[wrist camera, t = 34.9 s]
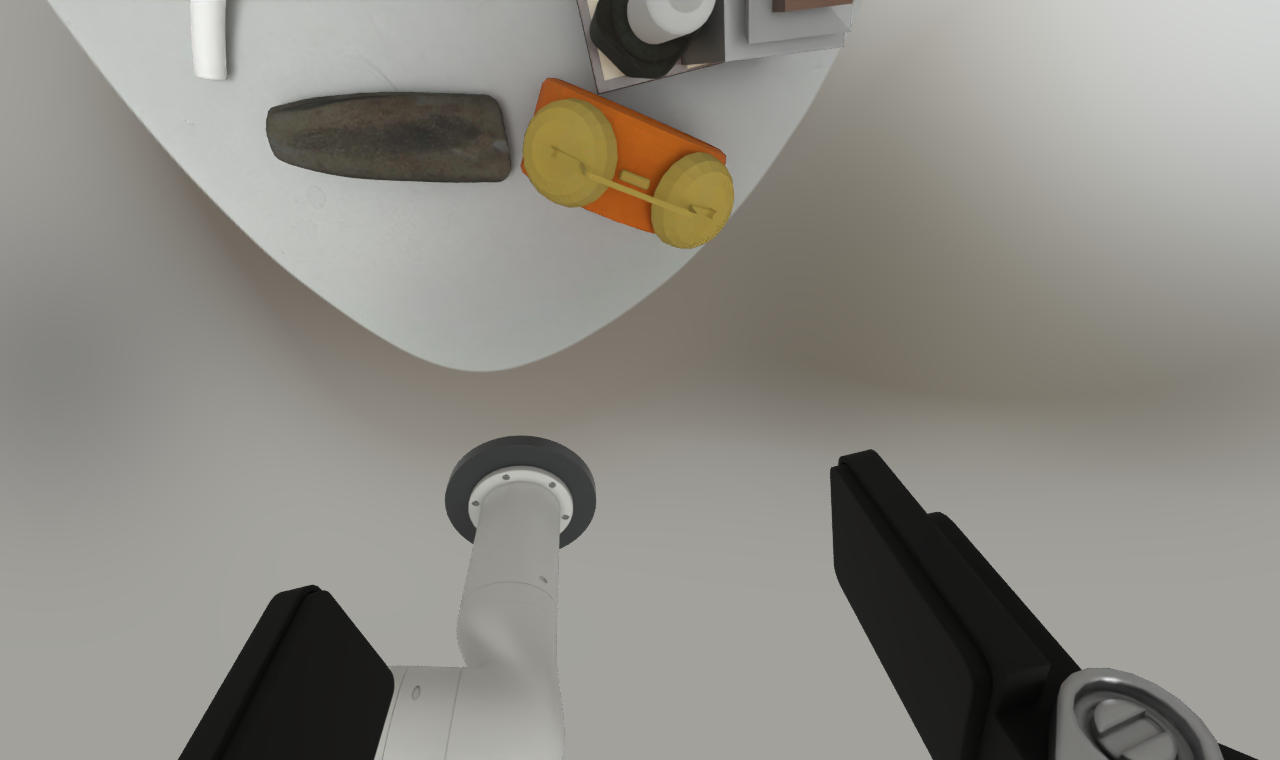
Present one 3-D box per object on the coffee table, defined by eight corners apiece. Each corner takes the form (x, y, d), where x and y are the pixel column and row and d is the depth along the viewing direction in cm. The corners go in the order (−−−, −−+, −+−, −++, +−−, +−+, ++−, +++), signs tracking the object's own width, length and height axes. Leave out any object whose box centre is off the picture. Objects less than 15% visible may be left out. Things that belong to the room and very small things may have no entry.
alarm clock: (702, 140, 45) (784, 181, 27) (674, 210, 47) (732, 288, 30) (549, 73, 41) (532, 72, 24) (528, 154, 44) (498, 205, 26)
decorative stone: (507, 93, 41) (501, 95, 38) (515, 180, 45) (510, 189, 41) (273, 87, 39) (244, 89, 36) (299, 178, 43) (274, 188, 39)
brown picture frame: (770, 50, 42) (773, 49, 41) (598, 94, 42) (598, 94, 41) (761, -65, 38) (764, -67, 38) (572, -17, 38) (572, -18, 38)
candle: (627, -31, 38) (697, -170, 16) (678, 26, 40) (802, -30, 18) (583, 33, 39) (593, -16, 18) (634, 84, 41) (699, 96, 20)
